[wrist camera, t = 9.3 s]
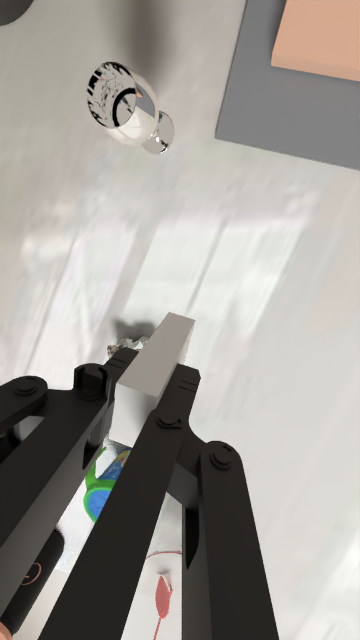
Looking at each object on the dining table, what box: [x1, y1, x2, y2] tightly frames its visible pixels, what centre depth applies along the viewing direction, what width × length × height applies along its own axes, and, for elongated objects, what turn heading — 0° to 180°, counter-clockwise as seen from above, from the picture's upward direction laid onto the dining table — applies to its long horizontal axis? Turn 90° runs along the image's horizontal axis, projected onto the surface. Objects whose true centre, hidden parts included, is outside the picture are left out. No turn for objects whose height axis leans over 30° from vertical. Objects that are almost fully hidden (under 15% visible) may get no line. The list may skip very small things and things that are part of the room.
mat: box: [215, 0, 360, 170], centre depth 28 cm, size 21×18×1 cm
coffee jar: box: [0, 529, 64, 640], centre depth 63 cm, size 11×11×18 cm
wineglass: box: [86, 62, 174, 155], centre depth 29 cm, size 6×6×12 cm
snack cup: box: [83, 447, 132, 522], centre depth 50 cm, size 16×10×10 cm
